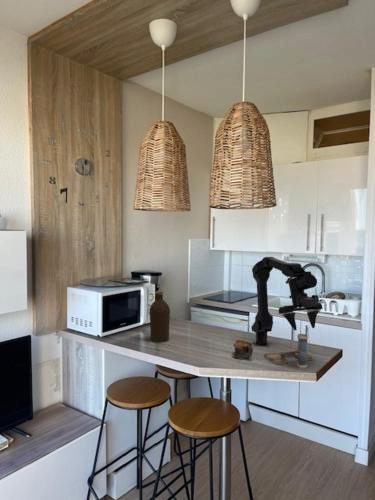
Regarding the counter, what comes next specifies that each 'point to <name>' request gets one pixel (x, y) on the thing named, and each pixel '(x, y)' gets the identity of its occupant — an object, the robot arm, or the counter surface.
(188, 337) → the counter surface
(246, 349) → the pottery mug
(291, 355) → the board
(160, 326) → the olive oil
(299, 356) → the spool
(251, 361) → the counter surface
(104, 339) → the counter surface
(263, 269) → the robot arm
